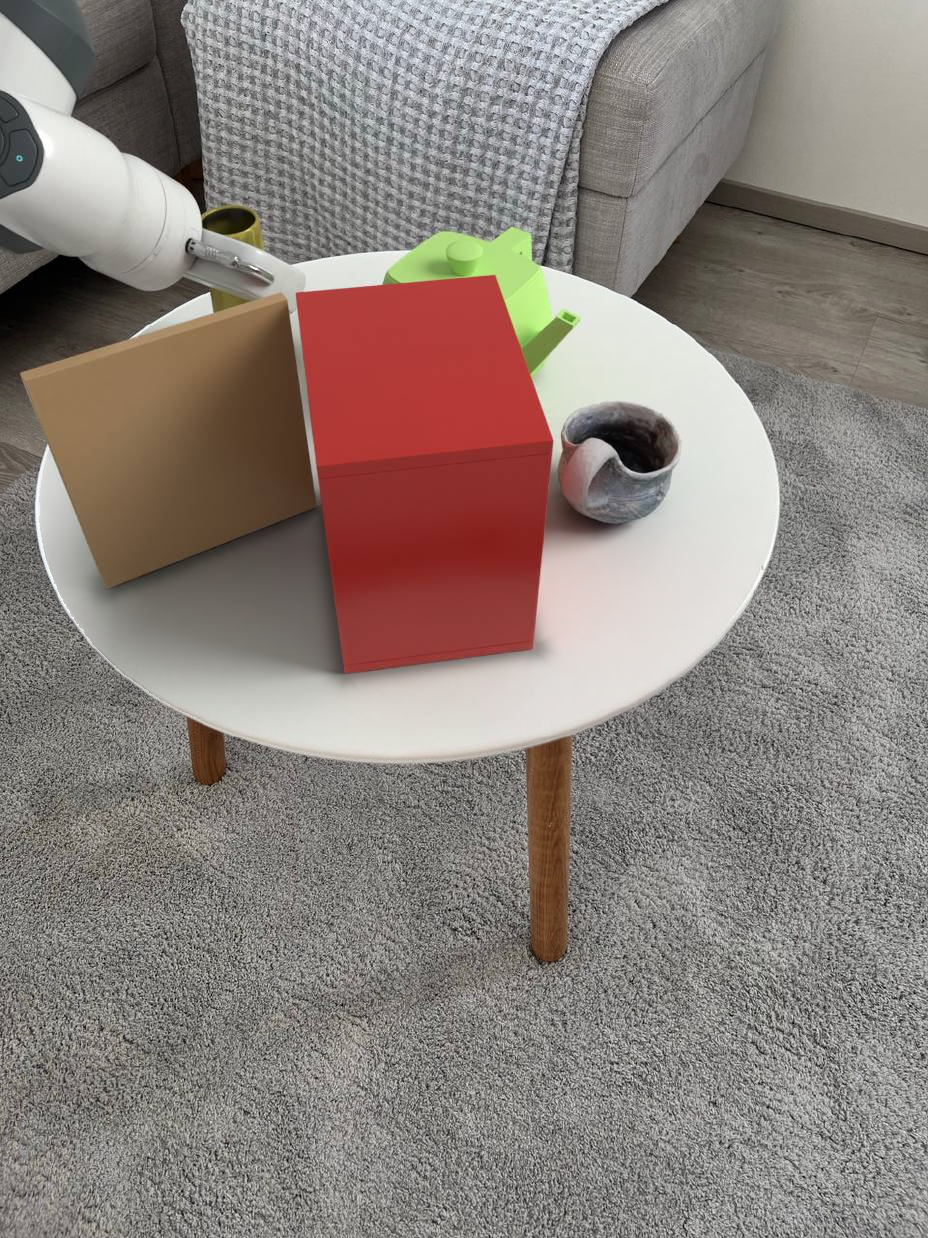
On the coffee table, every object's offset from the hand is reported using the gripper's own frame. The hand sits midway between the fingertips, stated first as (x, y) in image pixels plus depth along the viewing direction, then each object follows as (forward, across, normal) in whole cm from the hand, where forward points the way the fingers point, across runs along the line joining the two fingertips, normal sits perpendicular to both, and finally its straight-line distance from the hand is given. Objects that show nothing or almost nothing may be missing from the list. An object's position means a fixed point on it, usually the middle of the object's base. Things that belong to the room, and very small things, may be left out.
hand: (240, 280), depth 92 cm
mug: (+4, -38, +8) cm, 39 cm away
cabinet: (-6, -29, +17) cm, 34 cm away
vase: (+5, 0, +6) cm, 8 cm away
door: (-9, -10, +20) cm, 24 cm away
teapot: (+11, -21, +1) cm, 24 cm away
